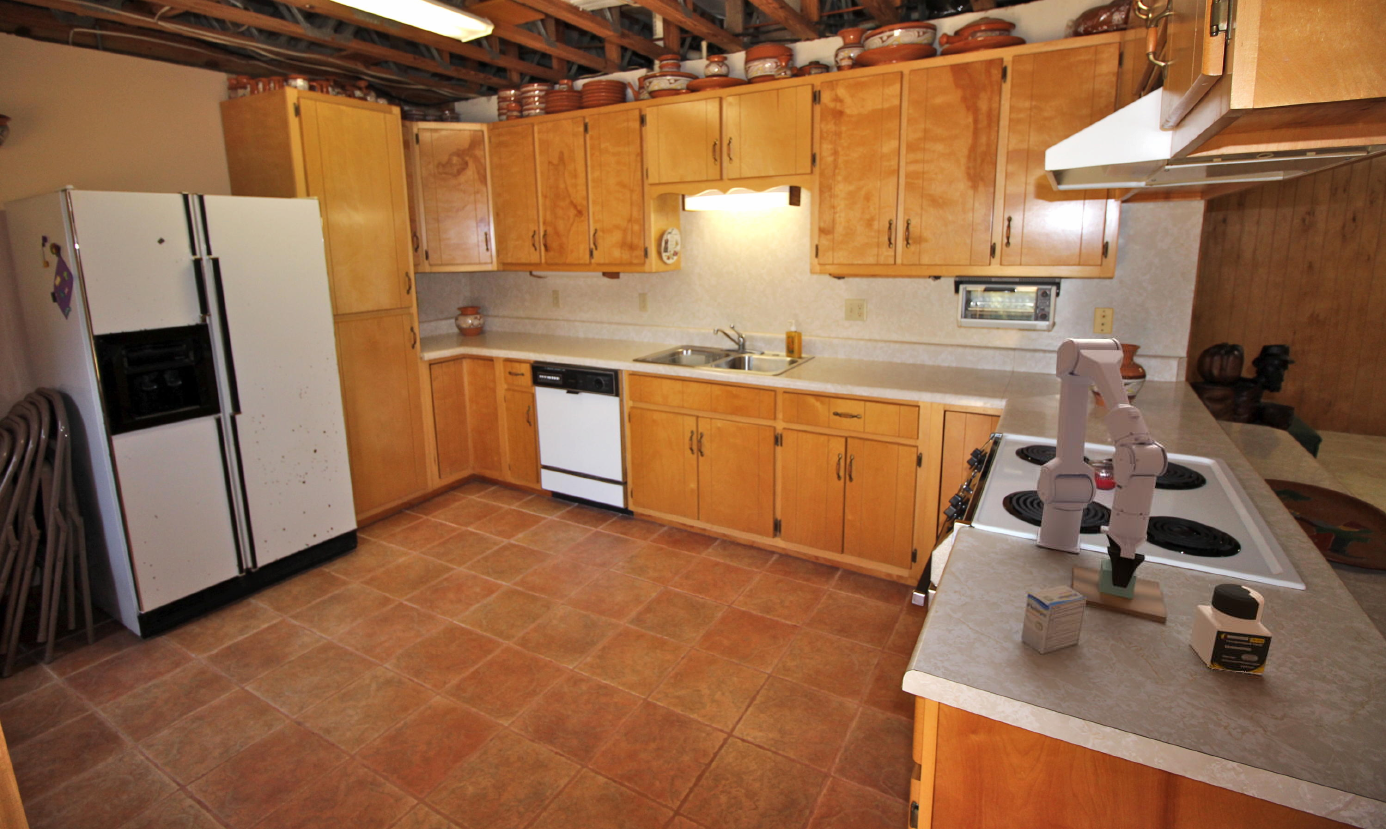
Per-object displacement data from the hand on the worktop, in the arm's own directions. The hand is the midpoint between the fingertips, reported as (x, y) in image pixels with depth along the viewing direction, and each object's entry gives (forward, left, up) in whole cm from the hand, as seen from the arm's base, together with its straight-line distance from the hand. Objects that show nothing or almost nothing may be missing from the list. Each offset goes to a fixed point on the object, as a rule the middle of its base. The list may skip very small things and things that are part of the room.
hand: (1118, 578), depth 125 cm
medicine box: (+23, -10, -3) cm, 25 cm away
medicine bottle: (+15, +14, -3) cm, 21 cm away
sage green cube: (0, 0, -2) cm, 2 cm away
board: (0, 0, -3) cm, 3 cm away
